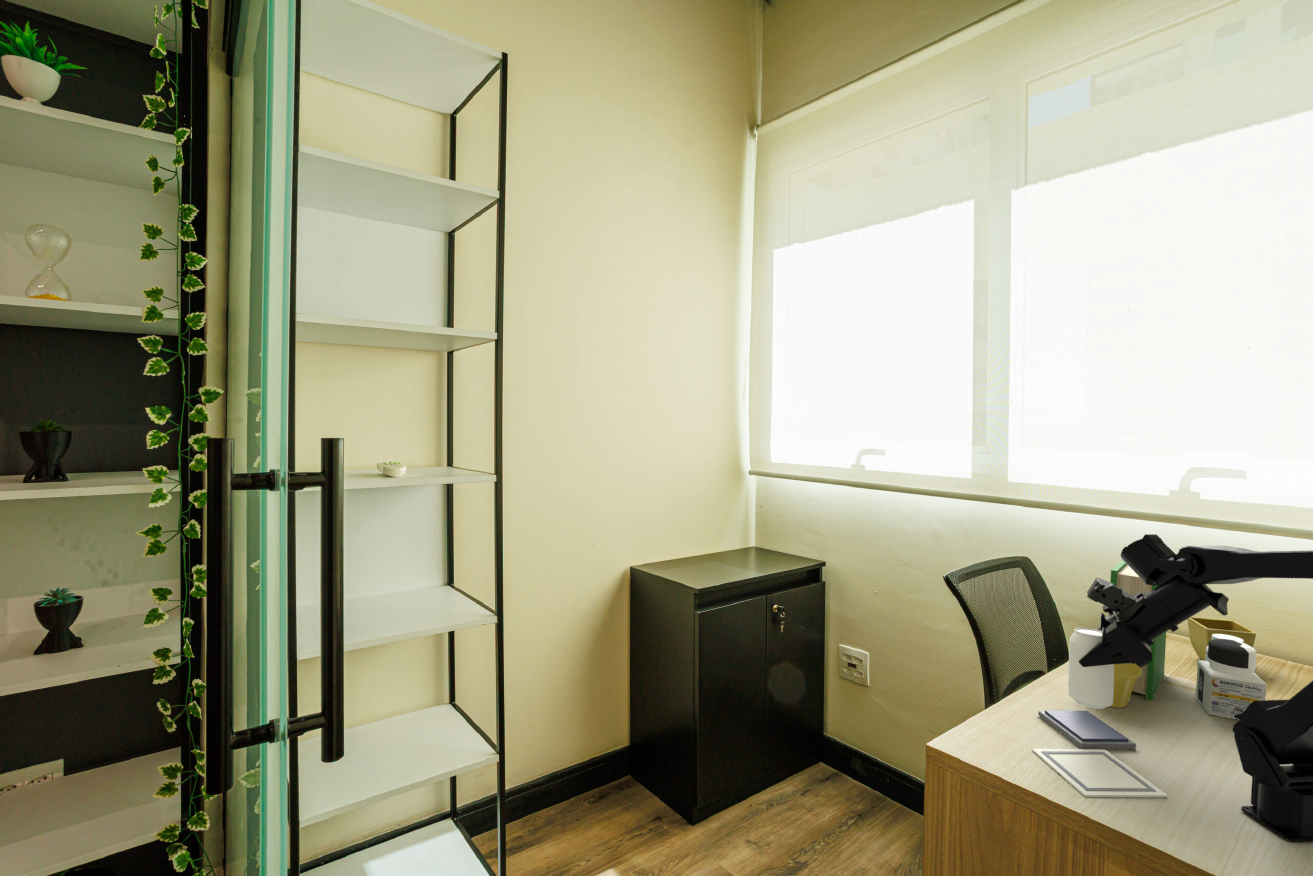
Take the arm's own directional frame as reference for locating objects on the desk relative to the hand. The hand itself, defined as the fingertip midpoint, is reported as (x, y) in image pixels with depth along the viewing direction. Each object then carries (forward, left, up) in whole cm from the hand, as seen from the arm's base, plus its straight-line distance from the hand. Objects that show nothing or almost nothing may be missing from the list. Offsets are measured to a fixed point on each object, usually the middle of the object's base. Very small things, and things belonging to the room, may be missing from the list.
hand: (1080, 658), depth 105 cm
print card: (-11, +5, -13) cm, 18 cm away
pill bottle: (+17, -42, -13) cm, 47 cm away
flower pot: (+31, -54, -13) cm, 63 cm away
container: (+9, -35, -13) cm, 38 cm away
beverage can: (-1, -1, -7) cm, 7 cm away
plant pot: (+13, -15, -13) cm, 24 cm away
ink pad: (+1, -2, -13) cm, 13 cm away
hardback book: (+21, -27, -13) cm, 37 cm away
